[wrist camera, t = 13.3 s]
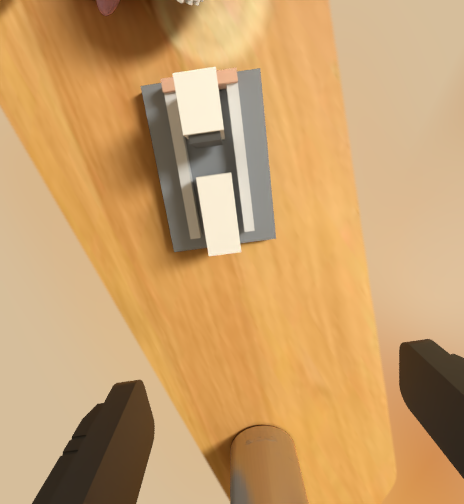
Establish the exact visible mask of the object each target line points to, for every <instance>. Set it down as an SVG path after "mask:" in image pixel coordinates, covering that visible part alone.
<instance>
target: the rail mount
mask: <svg viewBox="0 0 464 504" xmlns="http://www.w3.org/2000/svg"><path fill="white" fill-rule="evenodd" d="M141 90H142V95H143V100H144V105H145V110H146V115H147V120H148V125H149V130H150V135H151V140H152V145H153V150H154V154H155V159H156V164H157V169H158V174H159V179H160V184H161V189H162V194H163V199H164V204H165V209H166V214H167V219H168V224H169V229H170V234H171V239H172V244H173V249H174V252H179V251H187V250H194V249H201V248H207V243H206V237H205V230H204V224H203V218H202V212H201V206H200V200H199V194H198V187H197V181H196V177H200V176H207V175H214V174H221V173H229V172H231V175H232V183H233V190H234V198H235V206H236V214H237V222H238V230H239V237H240V243H246V242H254V241H261V240H269V239H276V234H275V223H274V213H273V202H272V191H271V180H270V169H269V159H268V148H267V137H266V126H265V116H264V105H263V94H262V83H261V72H260V68H259V69H252V70H245V71H239V72H237V68H230V69H223V70H216V67H211V68H204V69H197V70H191V71H184V72H177V73H173V77H169V78H163V79H161V83H158V84H151V85H145V86H141Z"/></svg>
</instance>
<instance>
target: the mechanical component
mask: <svg viewBox="0 0 464 504" xmlns="http://www.w3.org/2000/svg"><path fill="white" fill-rule="evenodd" d="M176 1H178V2H180V3H183V2H185V3H187V4H189V5H192V4H195V5H199V2H200V1H201V2H203V0H176Z"/></svg>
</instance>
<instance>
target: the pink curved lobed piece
mask: <svg viewBox="0 0 464 504" xmlns="http://www.w3.org/2000/svg"><path fill="white" fill-rule="evenodd" d="M119 1H120V0H96V2H97V6H98V8H99V11H100V12H101V14H103V15H104V16H108V15H110V14H112V13H113V12H114V10H115V9H116V8H117V6H118V3H119Z"/></svg>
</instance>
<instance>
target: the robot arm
mask: <svg viewBox="0 0 464 504" xmlns="http://www.w3.org/2000/svg"><path fill="white" fill-rule="evenodd" d="M399 354H400V355H399V362H400V363H399V379H400V380H399V385H400V391H401V394H402V397H403V399H404V402H405V403H406V405H407V407H408V408H409V409H410V411H411V412H412V413H413V415H414V416H415V417H416V418H417V420H418V421H419V422H420V424H421V425H422V426H423V427H424V429H425V430H426V431H427V432H428V434H429V435H430V436H431V438H432V439H433V440H434V441H435V443H436V444H437V445H438V446H439V448H440V449H441V450H442V451H443V453H444V454H445V455H446V457H447V458H448V459H449V461H450V462H451V463H452V464H453V466H454V467H455V468H456V469H457V471H458V472H459V473H460V475H461V476H462V477H463V478H464V358H462V357H460V356H458V355H455V354H451V355H450V354H449V353H448V352H446V351H445V350H444V349H442V348H441V347H440V346H439V345H438V344H436V343H435V342H434V341H432V340H430V339H425V340H418V341H411V342H404V343H402V344H401V345H400V350H399ZM153 440H154V419H153V415H152V411H151V408H150V404H149V401H148V397H147V393H146V390H145V386H144V384H143V382H142V381H141V380H135V381H128V382H121V383H116V384H115V385H114V386H113V387H112V389H111V391H110V393H109V394H108V396H107V398H106V400H105V402H104V403H101V404H97V405H96V406H95V407H94V408H93V409H92V410H91V411H90V412H89V413H88V414H87V415H86V416H85V417H84V418H83V419H82V421H81V422H80V424H79V426H78V427H77V429H76V431H75V432H74V434H73V436H72V440H70V441H69V442H68V444H67V446H66V447H65V449H64V451H63V455H62V456H60V458H59V459H58V461H57V463H56V464H55V466H54V468H53V469H52V471H51V473H50V474H49V476H48V478H47V479H46V481H45V483H44V484H43V486H42V488H41V489H40V491H39V493H38V494H37V496H36V498H35V499H34V501H33V503H32V504H136V502H137V498H138V495H139V491H140V488H141V484H142V480H143V477H144V473H145V469H146V466H147V462H148V459H149V455H150V452H151V448H152V444H153ZM230 500H231V504H308V500H307V496H306V491H305V487H304V483H303V479H302V475H301V470H300V466H299V462H298V458H297V453H296V449H295V445H294V442H293V440H292V438H291V437H290V436H289V435H288V434H287V433H286V432H285V431H283V430H281V429H279V428H276V427H273V426H255V427H251V428H249V429H246V430H244V431H243V432H241V433H240V434H239V435H238V436H237V437H236V438H235V439H234V441H233V442H232V445H231V449H230Z"/></svg>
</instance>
